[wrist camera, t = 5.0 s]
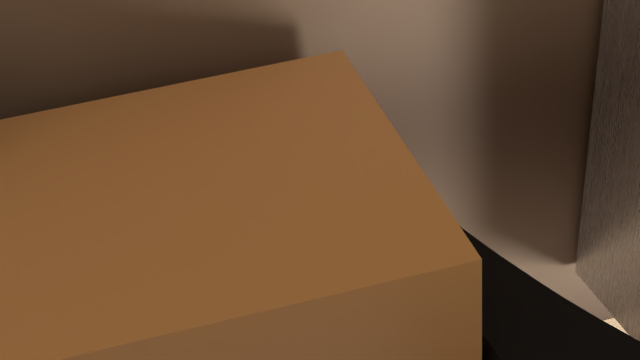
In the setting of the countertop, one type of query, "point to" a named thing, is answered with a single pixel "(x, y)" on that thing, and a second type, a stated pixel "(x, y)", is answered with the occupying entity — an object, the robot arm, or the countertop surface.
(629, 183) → the grey rectangular block
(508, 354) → the robot arm
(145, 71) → the flat wooden platform
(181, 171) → the light brown cube
